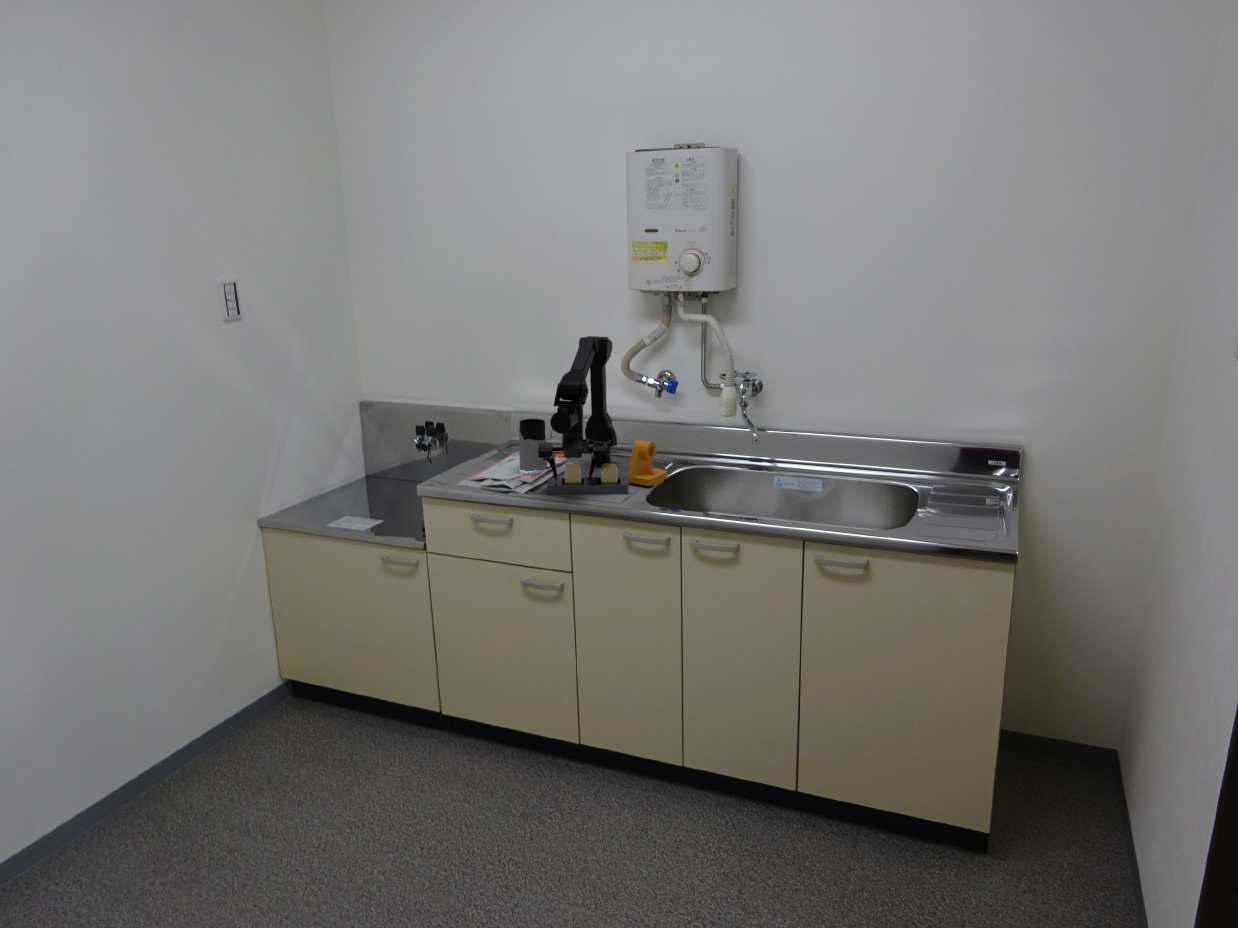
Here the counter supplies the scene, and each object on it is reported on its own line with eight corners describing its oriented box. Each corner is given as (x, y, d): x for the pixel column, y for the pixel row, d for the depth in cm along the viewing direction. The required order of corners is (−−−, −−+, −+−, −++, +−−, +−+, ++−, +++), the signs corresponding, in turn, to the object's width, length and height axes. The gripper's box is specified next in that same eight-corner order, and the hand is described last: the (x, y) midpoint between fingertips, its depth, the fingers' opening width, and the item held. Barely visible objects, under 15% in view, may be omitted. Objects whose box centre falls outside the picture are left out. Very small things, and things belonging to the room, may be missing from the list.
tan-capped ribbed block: (600, 487, 245) (600, 463, 243) (616, 487, 245) (616, 463, 243) (601, 492, 241) (601, 468, 239) (617, 492, 241) (617, 467, 239)
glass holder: (521, 466, 265) (520, 418, 261) (567, 467, 265) (567, 419, 261) (516, 474, 257) (514, 424, 253) (564, 475, 256) (563, 425, 252)
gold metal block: (564, 488, 244) (564, 463, 242) (580, 487, 245) (580, 463, 243) (564, 492, 240) (564, 468, 238) (581, 492, 240) (581, 468, 238)
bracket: (649, 489, 244) (650, 447, 241) (627, 484, 248) (627, 444, 245) (668, 479, 253) (669, 439, 250) (646, 476, 257) (647, 436, 253)
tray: (548, 486, 246) (547, 477, 245) (626, 485, 247) (626, 476, 246) (547, 494, 238) (547, 486, 237) (628, 493, 239) (628, 485, 239)
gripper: (537, 432, 229) (538, 489, 233) (608, 431, 230) (608, 488, 234) (538, 422, 240) (539, 477, 244) (606, 422, 241) (606, 476, 245)
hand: (573, 480), depth 241 cm, fingers open, 9 cm apart
